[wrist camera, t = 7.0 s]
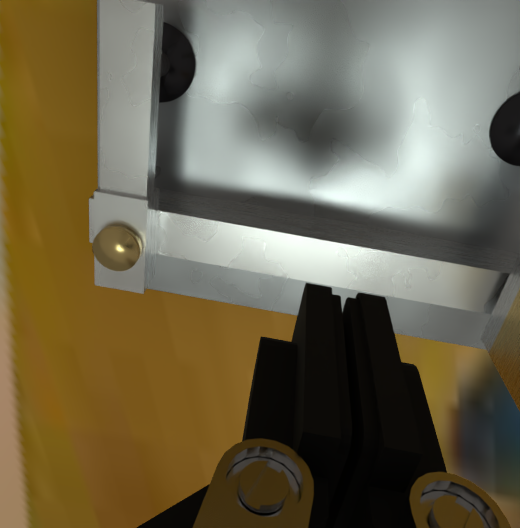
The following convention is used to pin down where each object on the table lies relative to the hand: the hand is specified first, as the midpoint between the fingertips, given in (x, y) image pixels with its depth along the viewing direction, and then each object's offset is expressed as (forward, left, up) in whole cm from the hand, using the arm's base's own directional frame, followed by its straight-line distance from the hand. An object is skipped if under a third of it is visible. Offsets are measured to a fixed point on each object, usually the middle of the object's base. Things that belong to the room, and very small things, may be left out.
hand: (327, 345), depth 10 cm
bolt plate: (-2, +1, -9) cm, 9 cm away
